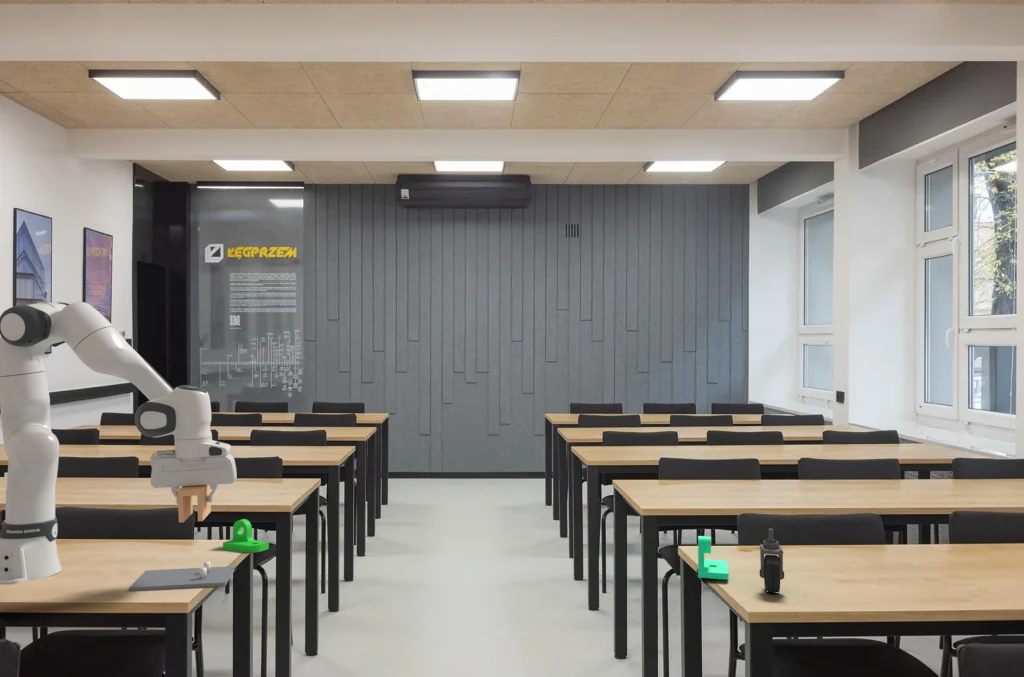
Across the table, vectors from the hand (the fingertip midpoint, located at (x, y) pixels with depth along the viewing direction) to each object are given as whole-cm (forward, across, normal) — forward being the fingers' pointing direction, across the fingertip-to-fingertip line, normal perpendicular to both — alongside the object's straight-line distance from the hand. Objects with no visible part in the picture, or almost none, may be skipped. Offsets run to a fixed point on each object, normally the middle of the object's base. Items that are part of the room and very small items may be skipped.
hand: (195, 502), depth 191 cm
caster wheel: (+24, +141, -33) cm, 147 cm away
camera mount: (+24, +133, -18) cm, 136 cm away
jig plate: (+20, -3, 0) cm, 20 cm away
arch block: (+4, 0, 0) cm, 4 cm away
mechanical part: (+21, +7, +31) cm, 38 cm away
